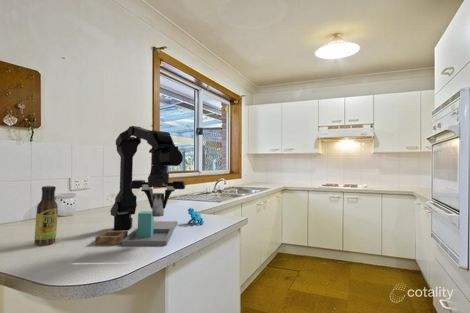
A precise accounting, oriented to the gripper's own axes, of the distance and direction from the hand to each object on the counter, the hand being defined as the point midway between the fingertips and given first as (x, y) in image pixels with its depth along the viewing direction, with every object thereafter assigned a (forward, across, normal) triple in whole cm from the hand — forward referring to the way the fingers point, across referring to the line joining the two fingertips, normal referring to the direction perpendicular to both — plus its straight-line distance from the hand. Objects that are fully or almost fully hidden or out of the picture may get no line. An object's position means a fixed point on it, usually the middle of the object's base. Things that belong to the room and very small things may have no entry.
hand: (158, 208), depth 101 cm
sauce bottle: (+13, -38, 0) cm, 40 cm away
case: (+12, -4, +14) cm, 19 cm away
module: (+12, -6, +9) cm, 16 cm away
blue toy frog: (+13, +13, +31) cm, 36 cm away
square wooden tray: (+12, -16, +1) cm, 20 cm away
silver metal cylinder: (+2, 0, 0) cm, 2 cm away
